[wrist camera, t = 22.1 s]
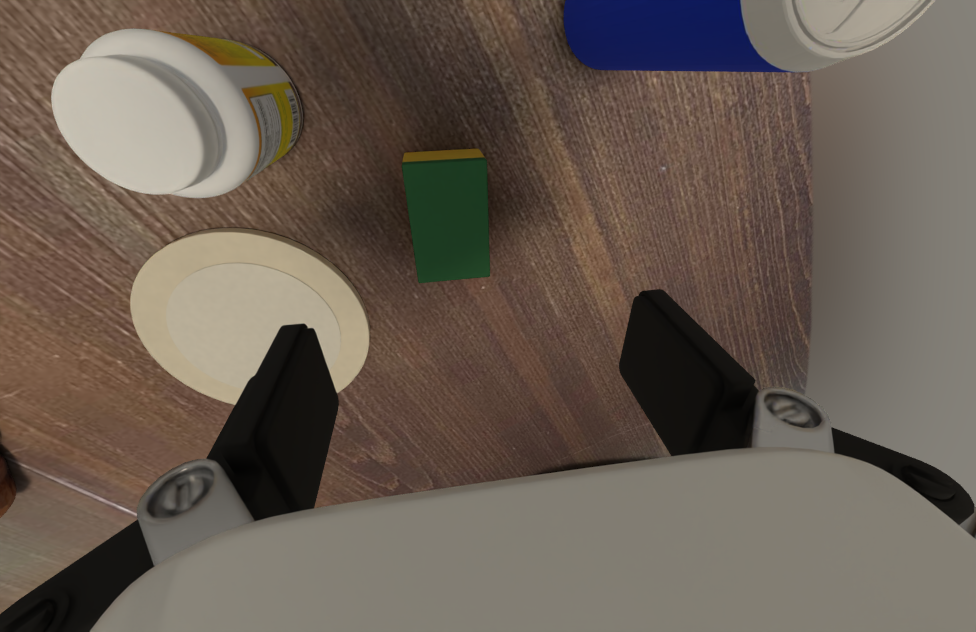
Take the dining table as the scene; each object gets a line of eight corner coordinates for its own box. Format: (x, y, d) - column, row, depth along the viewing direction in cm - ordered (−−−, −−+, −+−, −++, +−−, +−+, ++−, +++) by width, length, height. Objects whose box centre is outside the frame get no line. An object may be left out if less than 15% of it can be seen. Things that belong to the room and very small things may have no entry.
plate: (86, 237, 23) (74, 242, 22) (345, 218, 24) (343, 223, 24) (197, 413, 31) (192, 421, 30) (386, 390, 33) (385, 398, 32)
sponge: (403, 152, 23) (401, 164, 20) (478, 148, 23) (487, 159, 20) (418, 260, 27) (418, 283, 24) (482, 254, 27) (490, 277, 24)
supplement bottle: (162, 74, 19) (-41, 79, 11) (254, 17, 19) (115, -24, 10) (246, 177, 22) (139, 244, 14) (327, 131, 22) (268, 173, 13)
